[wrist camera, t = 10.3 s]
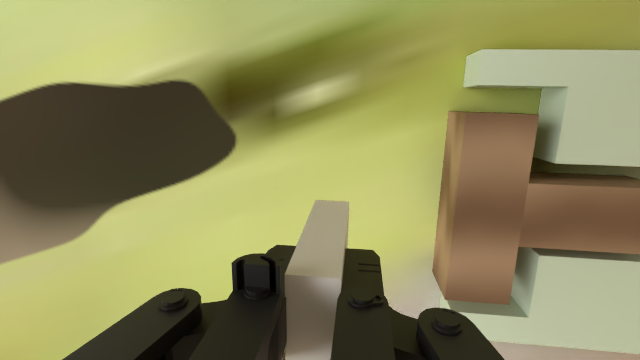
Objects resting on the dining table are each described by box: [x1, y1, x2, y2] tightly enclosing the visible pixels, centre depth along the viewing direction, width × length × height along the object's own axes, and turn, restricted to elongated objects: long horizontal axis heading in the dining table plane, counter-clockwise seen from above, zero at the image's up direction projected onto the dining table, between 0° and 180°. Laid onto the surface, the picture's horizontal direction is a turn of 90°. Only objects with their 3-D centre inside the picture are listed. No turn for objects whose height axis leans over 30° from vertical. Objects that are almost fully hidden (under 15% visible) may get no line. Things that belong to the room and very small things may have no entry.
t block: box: [432, 111, 640, 305], centre depth 23 cm, size 12×12×4 cm
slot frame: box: [440, 49, 640, 354], centre depth 23 cm, size 19×14×3 cm
